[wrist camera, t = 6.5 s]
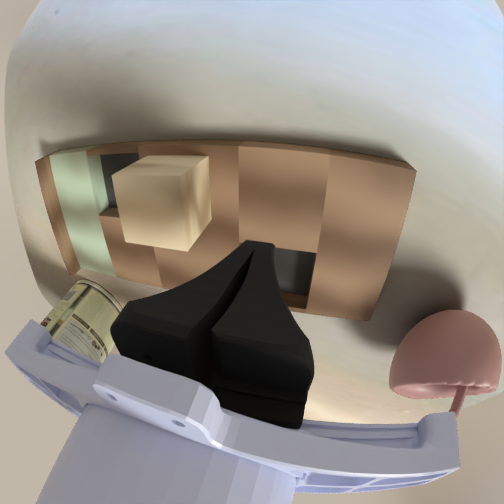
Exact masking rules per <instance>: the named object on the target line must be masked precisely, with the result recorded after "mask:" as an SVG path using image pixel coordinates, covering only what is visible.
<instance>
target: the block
mask: <svg viewBox="0 0 504 504" xmlns="http://www.w3.org/2000/svg"><path fill="white" fill-rule="evenodd" d="M112 181H113V186H114V192H115V197H116V202H117V207H118V212H119V216H120V221H121V225H122V230H123V234H124V238H125V242H128V243H135V244H141V245H147V246H154V247H160V248H167V249H173V250H180V251H186V252H188V251H189V249H190V248H191V247H192V245H193V244H194V243H195V241H196V240H197V238H198V237H199V236H200V234H201V233H202V232H203V230H204V229H205V228H206V226H207V225H208V224H209V222H210V221H211V220H212V217H211V200H210V180H209V156H196V155H150V156H146V157H144V158H142V159H140V160H138V161H136V162H135V163H133V164H131V165H129V166H127V167H125V168H124V169H122V170H120V171H118V172H116V173H115V174H113V175H112Z"/></svg>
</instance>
